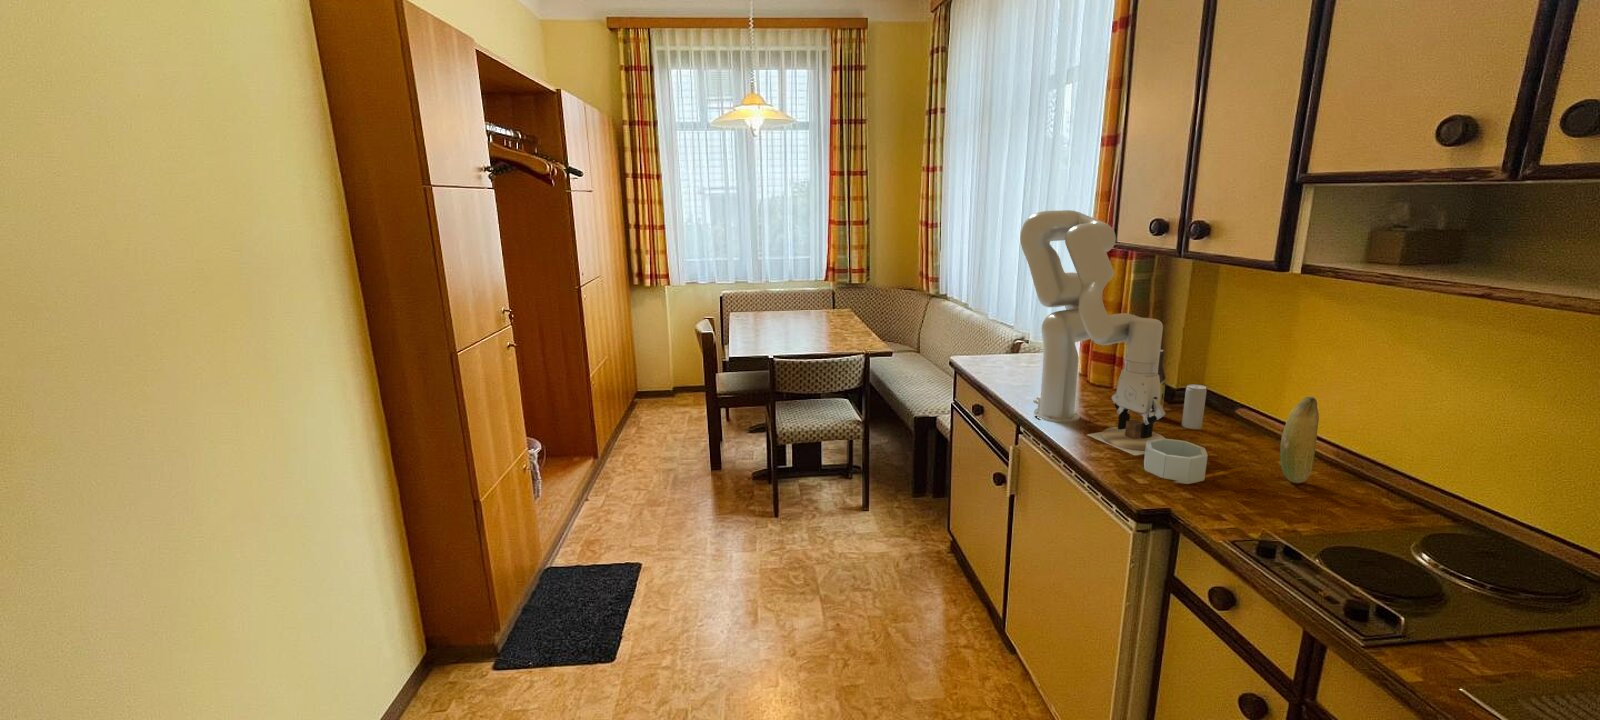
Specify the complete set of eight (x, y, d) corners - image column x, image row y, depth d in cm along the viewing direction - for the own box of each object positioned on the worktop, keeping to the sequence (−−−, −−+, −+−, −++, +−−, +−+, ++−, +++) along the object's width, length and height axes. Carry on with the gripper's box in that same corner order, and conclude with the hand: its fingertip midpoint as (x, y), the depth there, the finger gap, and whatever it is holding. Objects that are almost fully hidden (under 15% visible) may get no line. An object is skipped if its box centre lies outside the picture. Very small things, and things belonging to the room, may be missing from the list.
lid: (1089, 434, 174) (1090, 417, 172) (1132, 427, 179) (1133, 410, 177) (1135, 454, 160) (1137, 435, 159) (1179, 445, 165) (1182, 427, 164)
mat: (1086, 436, 174) (1086, 434, 174) (1131, 428, 179) (1132, 426, 179) (1134, 457, 159) (1134, 455, 159) (1182, 448, 165) (1183, 446, 165)
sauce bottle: (1164, 420, 185) (1172, 353, 181) (1141, 419, 187) (1148, 352, 182) (1157, 413, 192) (1165, 348, 187) (1134, 412, 193) (1141, 347, 188)
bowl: (1132, 466, 154) (1134, 443, 153) (1169, 459, 158) (1172, 436, 157) (1176, 486, 143) (1179, 461, 142) (1215, 478, 147) (1219, 453, 146)
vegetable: (1303, 490, 140) (1319, 402, 135) (1269, 481, 145) (1283, 396, 140) (1313, 483, 143) (1328, 397, 139) (1280, 474, 148) (1294, 391, 144)
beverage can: (1200, 426, 180) (1206, 385, 177) (1201, 432, 176) (1207, 389, 173) (1180, 424, 182) (1186, 383, 179) (1181, 429, 178) (1186, 387, 175)
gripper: (1103, 361, 171) (1097, 424, 175) (1159, 376, 155) (1151, 446, 160) (1125, 358, 174) (1119, 421, 178) (1182, 373, 158) (1174, 442, 162)
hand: (1134, 432), depth 169 cm, fingers open, 6 cm apart
